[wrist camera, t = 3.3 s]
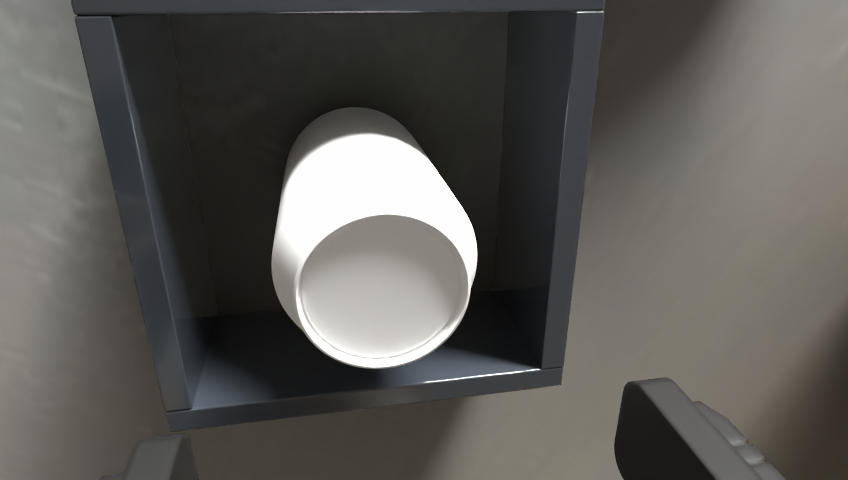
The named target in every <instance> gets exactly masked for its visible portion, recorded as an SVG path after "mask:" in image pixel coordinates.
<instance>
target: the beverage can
mask: <svg viewBox="0 0 848 480" xmlns="http://www.w3.org/2000/svg"><path fill="white" fill-rule="evenodd" d="M271 265H272V278H273V283H274V287H275V290H276V293H277V296H278V298H279V301H280V302H281V304H282V306H283V308H284V310H285V311H286V313H287V314H288V315H289V317H290V318H291V319H292V320H293V321H294V323H295V324H296V325H297V326H298V327H300V328H301V329H302V330H303V332H304V333H305V335H306V336H307V337H308V339H309V340H310V341H311V342H312V343H313V344H314V345H315V346H316V347H317V348H318V349H319V350H321V351H322V352H323V353H325V354H326V355H328V356H329V357H331V358H333V359H335V360H337V361H339V362H342V363H344V364H347V365H351V366H355V367H360V368H369V369H383V368H392V367H397V366H401V365H405V364H408V363H411V362H414V361H416V360H418V359H420V358H422V357H424V356H426V355H428V354H429V353H431V352H433V351H434V350H435V349H437V348H438V347H439V346H440V345H442V344H443V343H444V342H445V341H446V340H447V339H448V338H449V337H450V336H451V335H452V333H453V332H454V331H455V330H456V328H457V327H458V325H459V324H460V322H461V320H462V318H463V316H464V314H465V311H466V309H467V306H468V302H469V298H470V290H471V287H472V284H473V281H474V277H475V273H476V267H477V244H476V238H475V234H474V231H473V228H472V225H471V222H470V220H469V218H468V216H467V214H466V213H465V211H464V209H463V208H462V206H461V205H460V203H459V202H458V200H457V199H456V197H455V196H454V195H453V193H452V192H451V190H450V189H449V187H448V186H447V184H446V183H445V182H444V180H443V179H442V177H441V176H440V174H439V173H438V171H437V170H436V169H435V167H434V166H433V164H432V163H431V161H430V160H429V158H428V157H427V156H426V154H425V153H424V151H423V150H422V148H421V147H420V146H419V144H418V143H417V141H416V140H415V139H414V137H413V136H412V135H411V134H410V132H409V131H408V130H407V129H406V128H405V127H404V126H403V125H402V124H400V123H399V122H398V121H397V120H395V119H394V118H392V117H390V116H388V115H387V114H384V113H382V112H379V111H376V110H373V109H369V108H362V107H348V108H341V109H337V110H334V111H331V112H328V113H326V114H324V115H322V116H320V117H318V118H317V119H315V120H314V121H312V122H311V123H310V124H309V125H308V126H307V127H306V128H305V129H304V130H303V131H302V132H301V133H300V134H299V136H298V137H297V138H296V140H295V142H294V143H293V145H292V147H291V150H290V152H289V155H288V159H287V162H286V167H285V173H284V179H283V185H282V192H281V198H280V205H279V211H278V218H277V224H276V231H275V237H274V244H273V251H272V263H271Z"/></svg>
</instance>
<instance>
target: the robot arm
mask: <svg viewBox="0 0 848 480" xmlns="http://www.w3.org/2000/svg"><path fill="white" fill-rule="evenodd" d="M614 450H615V458H616V462H617V466H618V468H619V471H620V473H621V475H622V477H623V479H624V480H786V479H785V478H784V477H783V476H782V475H781V474H780V473H779V472H778V471H777V470H776V469H775V468H774V467H773V466H772V465H771V464H770V462H769V463H767V462H766V461H765V457H764V456H763V455H762V454H761V453H760V452H759V451H758V450H757V449H756V448H755V447H754V446H753V445H752V444H750V445H749V443H748V440H747V438H746V437H745V436H744V435H743V434H742V433H741V432H740V431H739V430H738V429H737V428H736V427H735V426H734V425H733V424H732V423H731V422H730V421H729V420H728V419H727V418H726V417H724V416H723V415H721V414H719V413H718V412H716V411H715V410H713V409H711V408H710V407H708V406H706V405H705V404H703V403H702V402H700V401H698V402H692V401H691V400H690V399H689V397H688V396H687V395H686V394H685V393H684V392H683V391H682V390H681V389H680V388H679V387H678V385H677V384H676V383H675V382H674V381H673V380H671V379H669V378H656V379H648V380H640V381H631V382H628V383H627V384H626V385H625V387H624V391H623V396H622V402H621V408H620V413H619V419H618V425H617V431H616V437H615V444H614ZM100 480H199V479H198V474H197V470H196V465H195V461H194V456H193V451H192V447H191V442H190V439H189V437H188V435H187V434H185V433H184V434H176V435H167V436H159V437H151V438H142V439H139V440H138V441H137V442H136V444H135V446H134V448H133V450H132V453H131V455H130V458H129V461H128V463H127V466H126V468H125V471H124V473H123V474H115V475H107V476H102V478H101V479H100Z"/></svg>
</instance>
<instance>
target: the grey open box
mask: <svg viewBox="0 0 848 480" xmlns="http://www.w3.org/2000/svg"><path fill="white" fill-rule="evenodd" d="M71 4H72V8H73V12H74V14H75V15H78V16H75V22H76V27H77V31H78V35H79V40H80V44H81V49H82V53H83V57H84V62H85V66H86V70H87V75H88V79H89V83H90V88H91V92H92V96H93V101H94V105H95V109H96V114H97V118H98V122H99V127H100V131H101V135H102V140H103V144H104V148H105V153H106V157H107V161H108V166H109V170H110V175H111V179H112V183H113V188H114V192H115V196H116V201H117V205H118V209H119V214H120V218H121V222H122V227H123V231H124V235H125V240H126V244H127V248H128V253H129V257H130V261H131V266H132V270H133V274H134V279H135V283H136V288H137V292H138V296H139V301H140V305H141V309H142V314H143V318H144V322H145V327H146V331H147V335H148V340H149V344H150V348H151V353H152V357H153V361H154V366H155V370H156V374H157V379H158V383H159V387H160V392H161V396H162V401H163V405H164V409H165V411H166V417H167V422H168V426H169V430H170V432H176V431H184V430H192V429H201V428H209V427H218V426H226V425H234V424H243V423H251V422H259V421H268V420H276V419H284V418H293V417H301V416H309V415H318V414H326V413H335V412H343V411H351V410H360V409H368V408H376V407H385V406H393V405H401V404H410V403H418V402H426V401H435V400H443V399H452V398H460V397H468V396H477V395H485V394H493V393H502V392H510V391H518V390H527V389H535V388H543V387H552V386H560V385H561V380H562V372H563V366H564V357H565V349H566V340H567V331H568V323H569V314H570V306H571V297H572V288H573V280H574V271H575V263H576V254H577V245H578V237H579V228H580V220H581V211H582V202H583V194H584V185H585V177H586V168H587V159H588V151H589V142H590V134H591V125H592V116H593V108H594V99H595V91H596V82H597V73H598V65H599V56H600V48H601V39H602V30H603V22H604V11H603V10H604V8H605V0H71ZM451 12H509V24H508V43H507V61H506V80H505V98H504V117H503V135H502V154H501V172H500V191H499V209H498V228H497V246H496V265H495V283H494V291H491V292H480V293H470V298H469V302H468V306H467V309H466V311H465V314H464V316H463V318H462V320H461V322H460V324H459V325H458V327H457V328H456V330H455V331H454V332H453V333H452V335H451V336H450V337H449V338H448V339H447V340H446V341H445V342H444V343H443V344H442V345H440V346H439V347H438V348H437V349H435V350H434V351H433V352H431V353H429V354H428V355H426V356H424V357H422V358H420V359H418V360H416V361H414V362H411V363H408V364H405V365H401V366H397V367H392V368H383V369H369V368H360V367H355V366H351V365H347V364H344V363H342V362H339V361H337V360H335V359H333V358H331V357H329V356H328V355H326V354H325V353H323V352H322V351H321V350H319V349H318V348H317V347H316V346H315V345H314V344H313V343H312V342H311V341H310V340H309V339H308V337H307V336H306V335H305V333H304V332H303V330H302V329H301V328H300V327H298V326H297V325H296V324H295V323H294V321H293V320H292V319H291V318H290V317H289V315H288V314H287V313H286V311H285V310H279V311H268V312H257V313H246V314H235V315H224V316H218V315H219V314H218V308H217V302H216V297H215V291H214V285H213V279H212V273H211V267H210V261H209V255H208V249H207V243H206V237H205V231H204V225H203V219H202V213H201V208H200V202H199V196H198V190H197V184H196V178H195V172H194V166H193V160H192V154H191V148H190V142H189V136H188V130H187V124H186V119H185V113H184V107H183V101H182V95H181V89H180V83H179V77H178V71H177V65H176V59H175V53H174V47H173V41H172V36H171V30H170V24H169V18H168V15H218V14H334V13H451Z"/></svg>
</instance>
